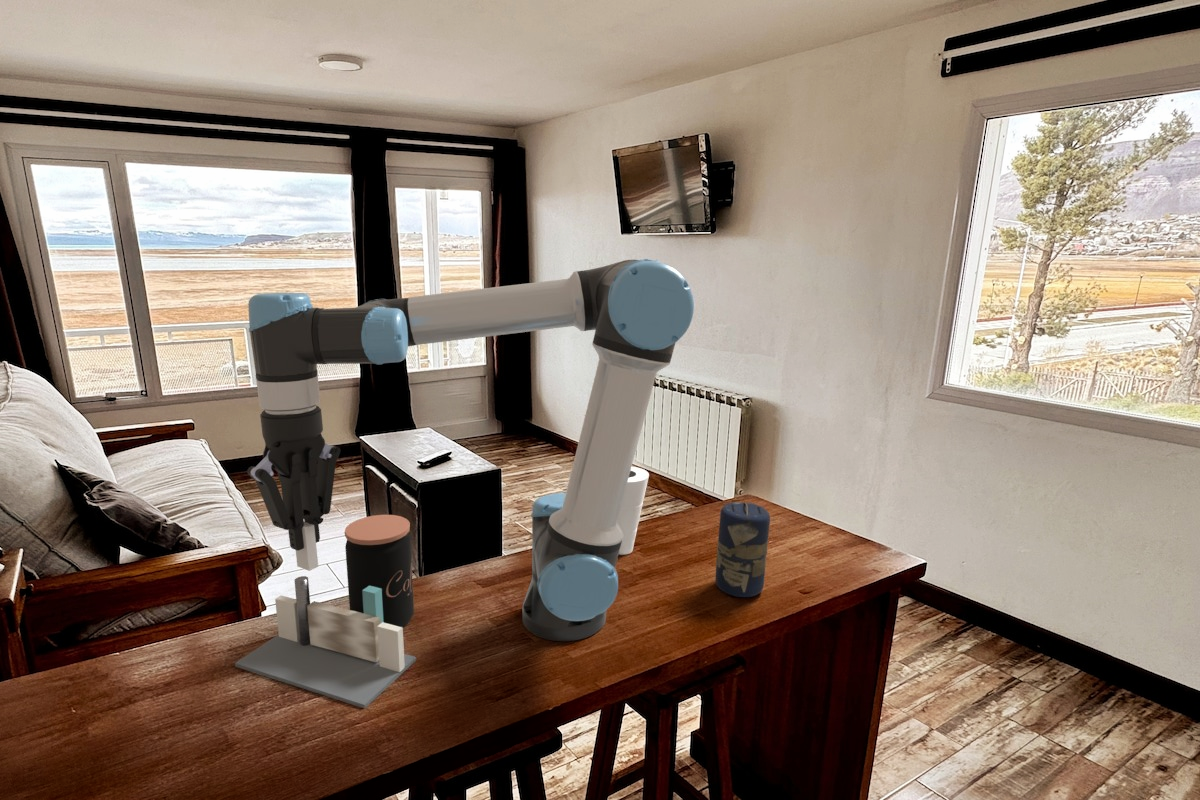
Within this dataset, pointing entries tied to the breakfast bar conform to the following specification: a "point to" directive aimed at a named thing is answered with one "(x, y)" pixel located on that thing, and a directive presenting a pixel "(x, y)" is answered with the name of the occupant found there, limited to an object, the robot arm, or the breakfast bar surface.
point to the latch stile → (373, 602)
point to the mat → (322, 670)
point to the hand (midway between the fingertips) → (307, 566)
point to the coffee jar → (381, 565)
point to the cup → (632, 508)
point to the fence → (387, 633)
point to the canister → (742, 549)
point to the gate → (344, 631)
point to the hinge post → (303, 608)
